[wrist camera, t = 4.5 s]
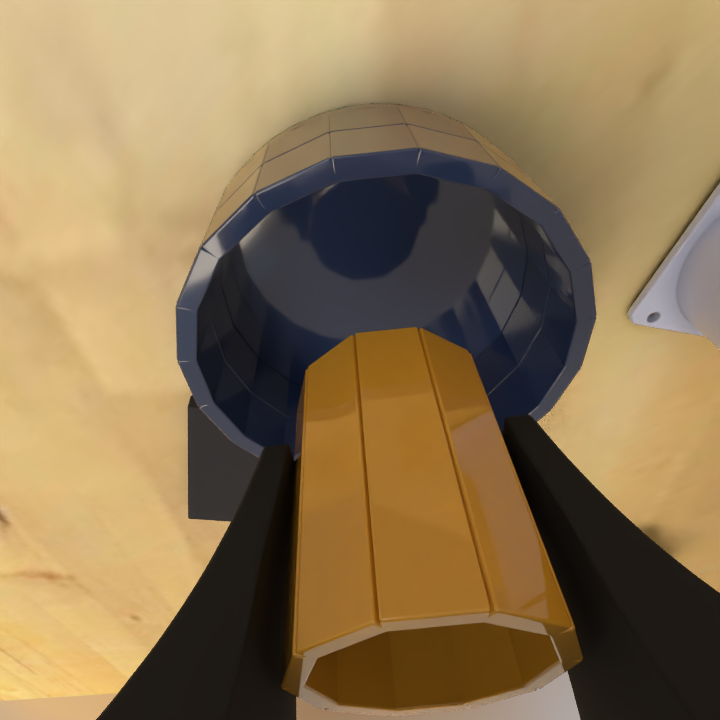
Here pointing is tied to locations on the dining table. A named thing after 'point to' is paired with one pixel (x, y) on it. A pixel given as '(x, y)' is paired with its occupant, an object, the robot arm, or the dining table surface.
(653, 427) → the dining table surface
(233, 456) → the pot holder
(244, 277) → the pot
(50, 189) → the dining table surface
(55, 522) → the dining table surface
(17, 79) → the dining table surface
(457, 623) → the cup
